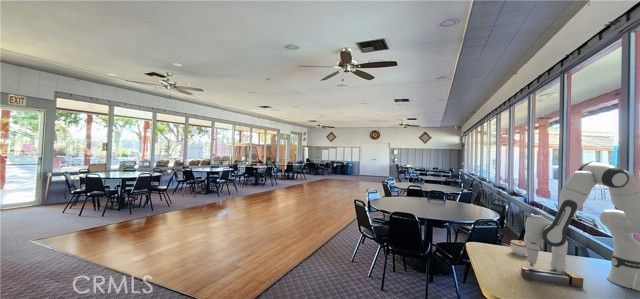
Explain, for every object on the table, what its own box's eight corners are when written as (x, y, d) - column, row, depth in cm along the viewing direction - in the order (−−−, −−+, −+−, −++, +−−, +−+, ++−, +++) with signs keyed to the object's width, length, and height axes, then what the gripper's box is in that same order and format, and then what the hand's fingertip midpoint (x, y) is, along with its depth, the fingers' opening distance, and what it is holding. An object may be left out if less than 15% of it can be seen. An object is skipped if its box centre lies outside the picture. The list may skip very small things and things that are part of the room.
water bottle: (568, 274, 164) (572, 231, 163) (554, 272, 165) (557, 230, 164) (560, 269, 171) (564, 227, 170) (547, 267, 172) (550, 226, 171)
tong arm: (564, 280, 156) (565, 272, 155) (567, 282, 153) (568, 274, 153) (520, 274, 160) (521, 267, 160) (522, 276, 158) (523, 269, 158)
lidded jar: (506, 250, 197) (507, 237, 197) (520, 251, 198) (521, 237, 197) (517, 257, 186) (518, 243, 186) (533, 257, 187) (534, 243, 187)
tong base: (574, 281, 155) (574, 272, 155) (582, 287, 148) (583, 278, 148) (520, 274, 161) (520, 265, 161) (526, 280, 154) (527, 271, 154)
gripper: (527, 236, 176) (525, 259, 177) (525, 245, 160) (524, 269, 161) (540, 239, 172) (538, 262, 173) (540, 248, 156) (538, 273, 157)
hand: (531, 265), depth 167 cm, fingers closed
